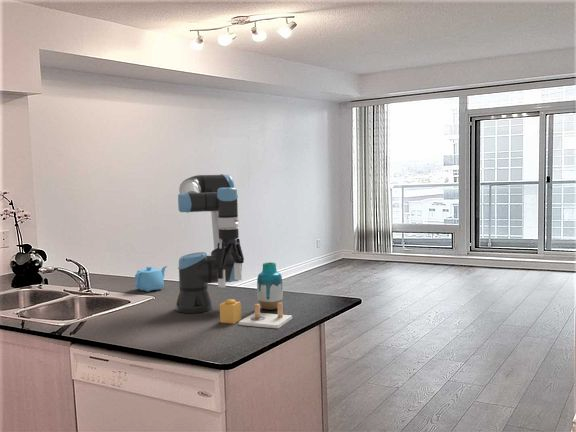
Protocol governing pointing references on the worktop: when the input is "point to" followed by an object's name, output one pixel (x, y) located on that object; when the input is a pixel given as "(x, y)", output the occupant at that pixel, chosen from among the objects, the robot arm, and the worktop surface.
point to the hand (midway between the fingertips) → (230, 283)
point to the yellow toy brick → (230, 311)
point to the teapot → (150, 279)
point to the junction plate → (266, 318)
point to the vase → (269, 287)
